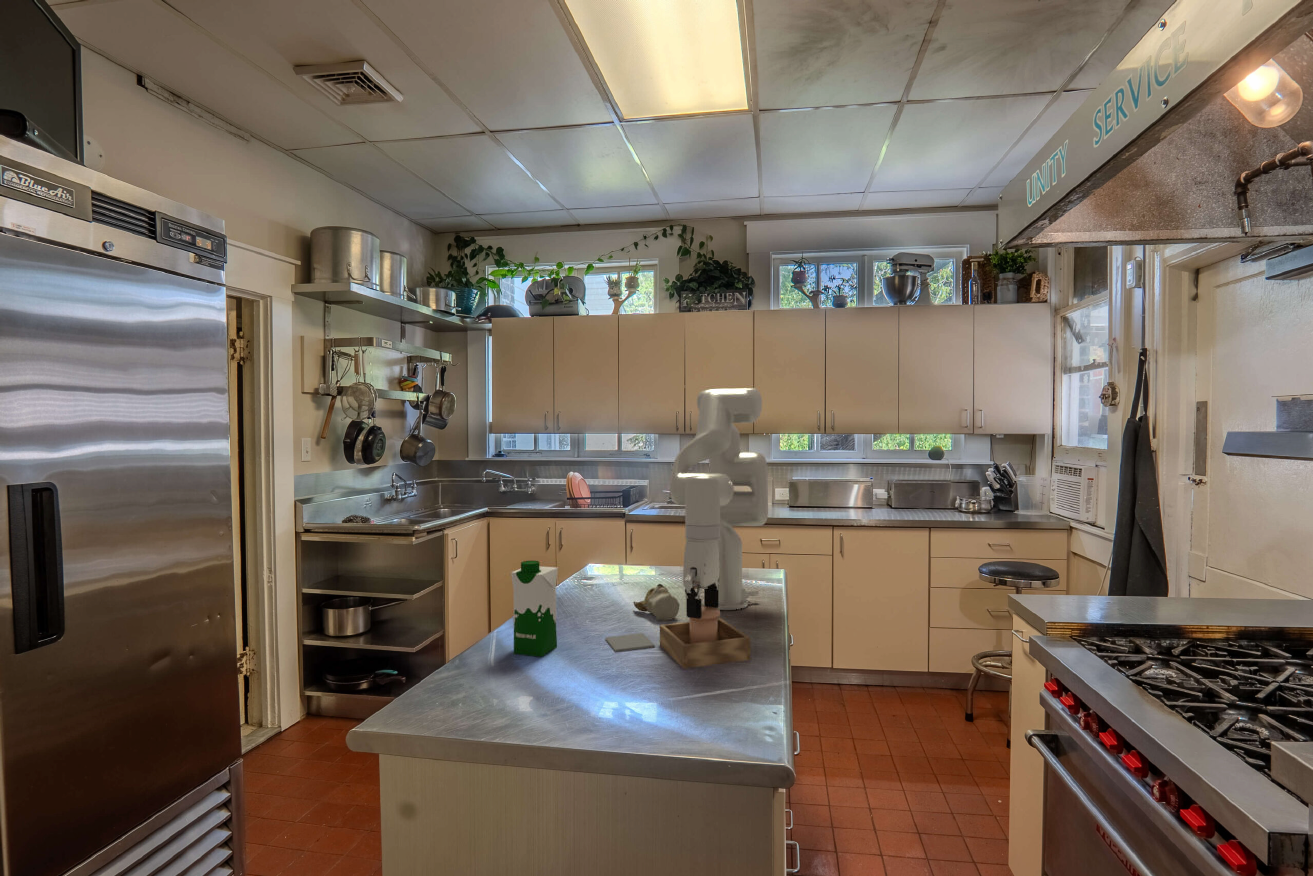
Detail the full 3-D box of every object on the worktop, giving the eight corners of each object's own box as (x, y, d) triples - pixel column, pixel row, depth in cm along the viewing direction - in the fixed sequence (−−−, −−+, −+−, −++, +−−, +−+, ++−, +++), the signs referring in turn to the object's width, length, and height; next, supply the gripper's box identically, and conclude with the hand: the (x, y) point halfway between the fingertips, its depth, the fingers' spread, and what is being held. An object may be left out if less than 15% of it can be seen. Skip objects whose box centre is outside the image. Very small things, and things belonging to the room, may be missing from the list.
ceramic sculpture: (650, 590, 162) (630, 581, 176) (650, 625, 162) (631, 613, 176) (689, 586, 166) (667, 578, 180) (689, 621, 166) (668, 609, 180)
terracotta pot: (712, 645, 145) (712, 604, 145) (725, 655, 139) (725, 613, 138) (682, 648, 143) (681, 608, 143) (694, 659, 136) (694, 616, 136)
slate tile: (642, 637, 153) (642, 633, 153) (654, 649, 144) (654, 645, 144) (605, 641, 150) (605, 637, 150) (615, 654, 141) (615, 649, 141)
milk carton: (507, 654, 142) (506, 563, 141) (528, 642, 150) (528, 555, 150) (543, 659, 139) (542, 565, 138) (563, 645, 147) (562, 557, 147)
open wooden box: (721, 640, 150) (721, 618, 150) (750, 661, 136) (750, 638, 136) (659, 647, 146) (659, 625, 146) (683, 670, 131) (683, 646, 131)
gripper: (702, 527, 150) (702, 601, 150) (669, 536, 134) (670, 619, 134) (732, 529, 146) (733, 605, 146) (703, 539, 131) (703, 624, 131)
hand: (702, 612), depth 140 cm, fingers open, 9 cm apart
